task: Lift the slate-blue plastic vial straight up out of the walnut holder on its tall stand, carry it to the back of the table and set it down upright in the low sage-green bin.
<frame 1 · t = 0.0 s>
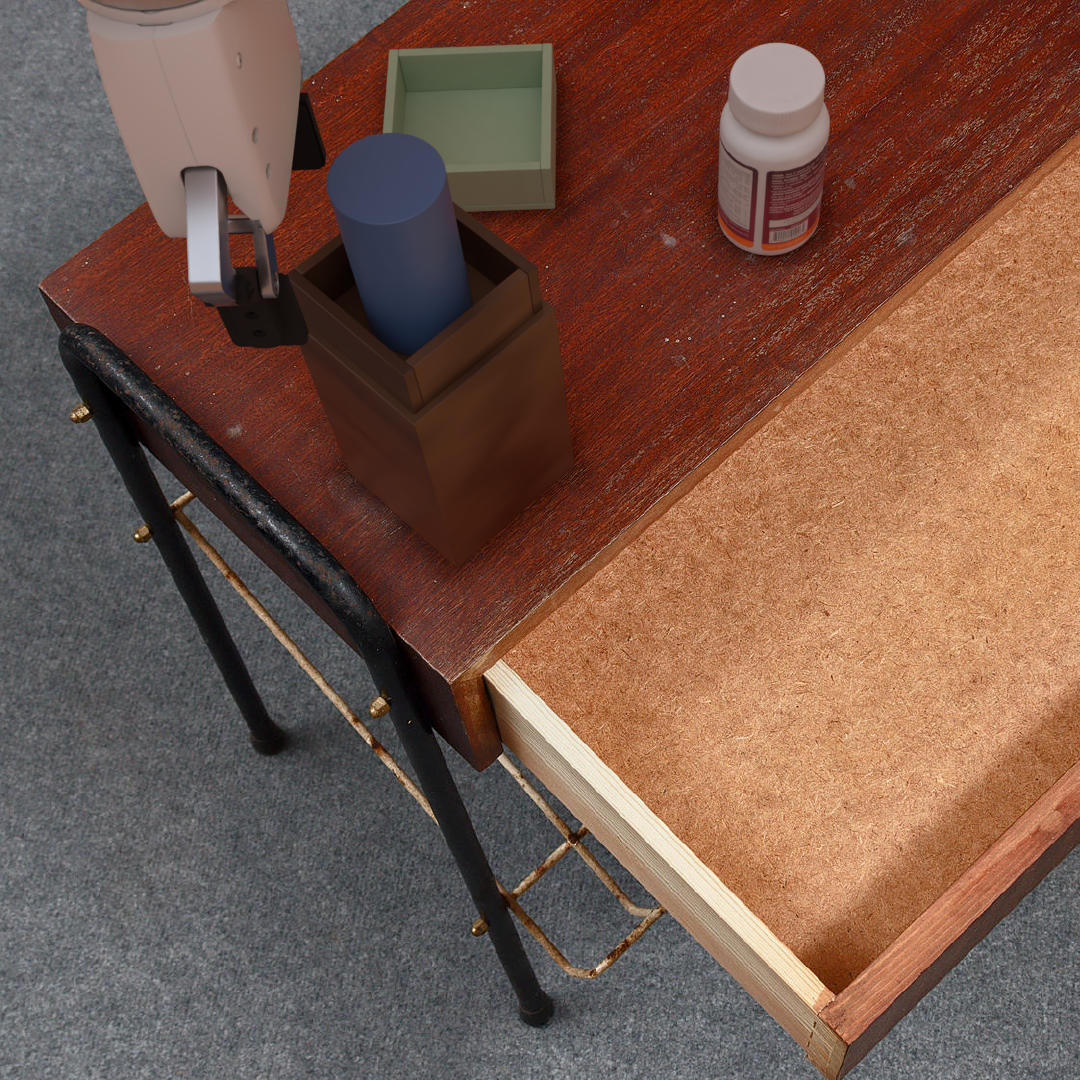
hand: (282, 249, 64), 19 cm above the table, tool pointing down, fingers open, 9 cm apart
vial: (404, 248, 65), in the stand, point 18 cm above the table
bin: (475, 148, 91), on the table
stand: (420, 312, 69), on the table
pill bottle: (767, 221, 88), on the table
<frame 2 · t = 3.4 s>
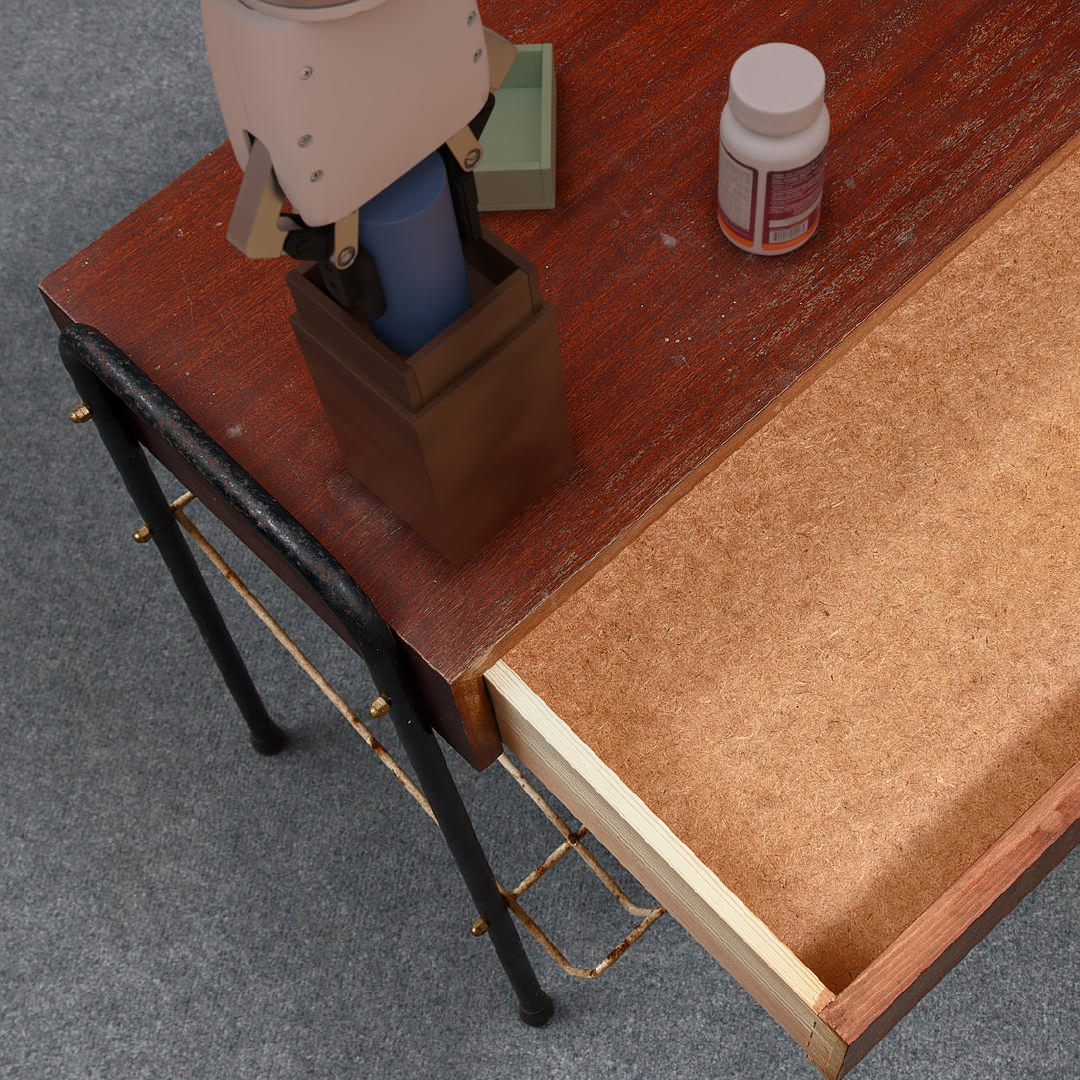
hand: (407, 258, 65), 18 cm above the table, tool pointing down, fingers closed on vial, 5 cm apart
vial: (404, 248, 65), in the stand, point 18 cm above the table, touching gripper
everything else where it was.
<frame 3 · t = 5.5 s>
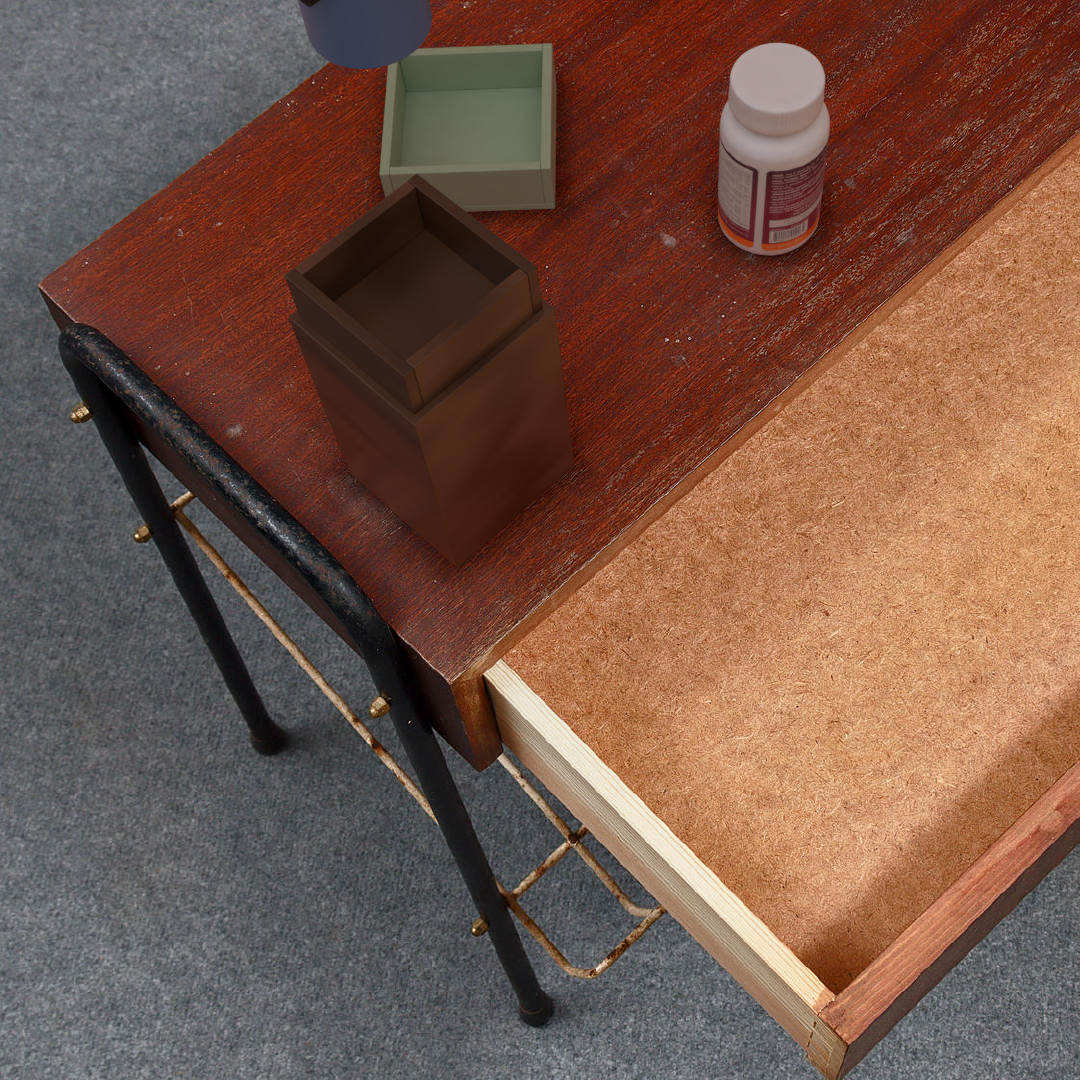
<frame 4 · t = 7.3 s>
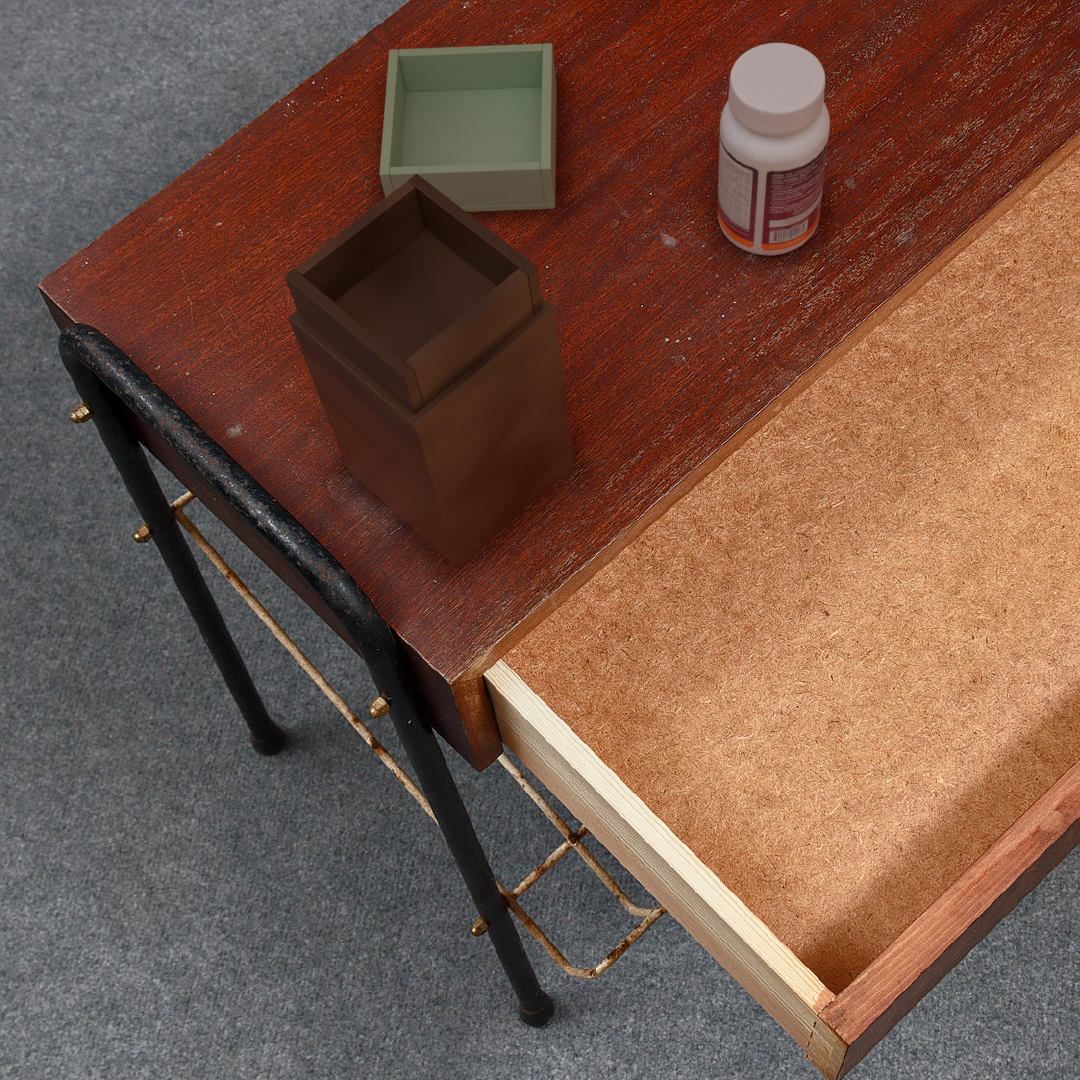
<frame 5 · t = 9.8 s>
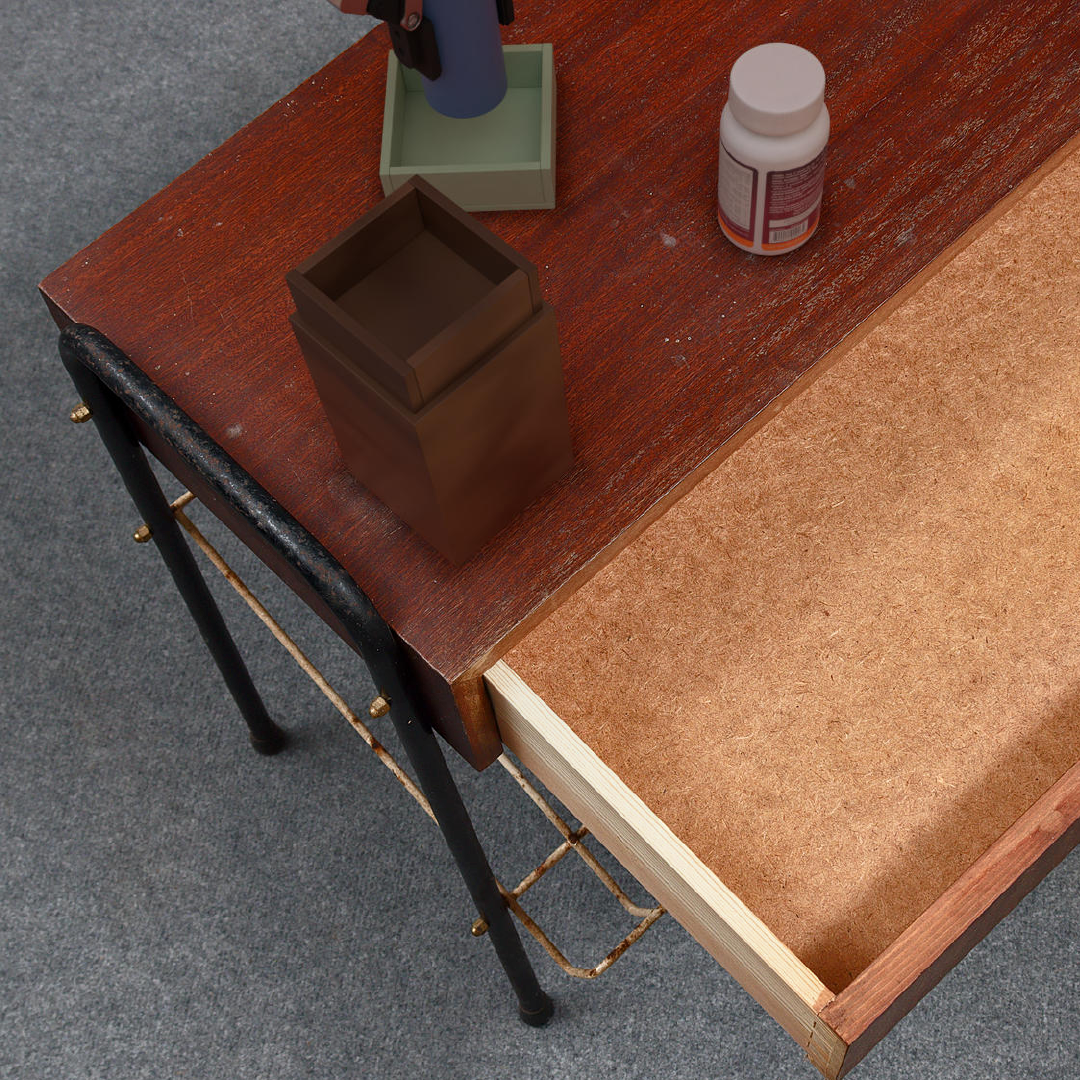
hand: (456, 37, 84), 9 cm above the table, tool pointing down, fingers closed on vial, 5 cm apart
vial: (455, 27, 83), point 10 cm above the table, touching gripper
everything else where it was.
when the fingers open (4 cm above the table, at t = 11.6 s): vial stays where it is, resting on bin.
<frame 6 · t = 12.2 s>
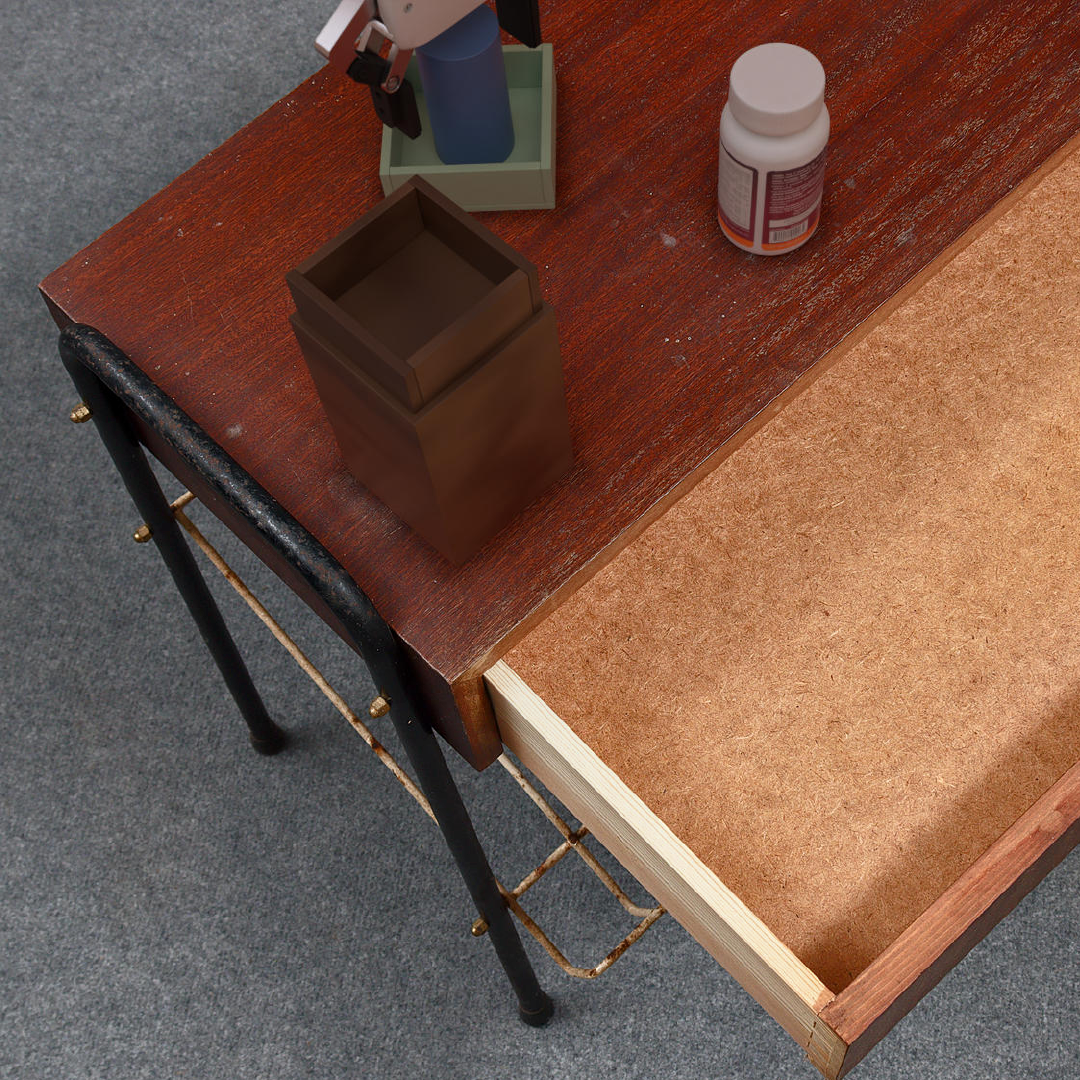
hand: (461, 80, 86), 6 cm above the table, tool pointing down, fingers open, 9 cm apart
vial: (465, 88, 87), in the bin
everything else where it was.
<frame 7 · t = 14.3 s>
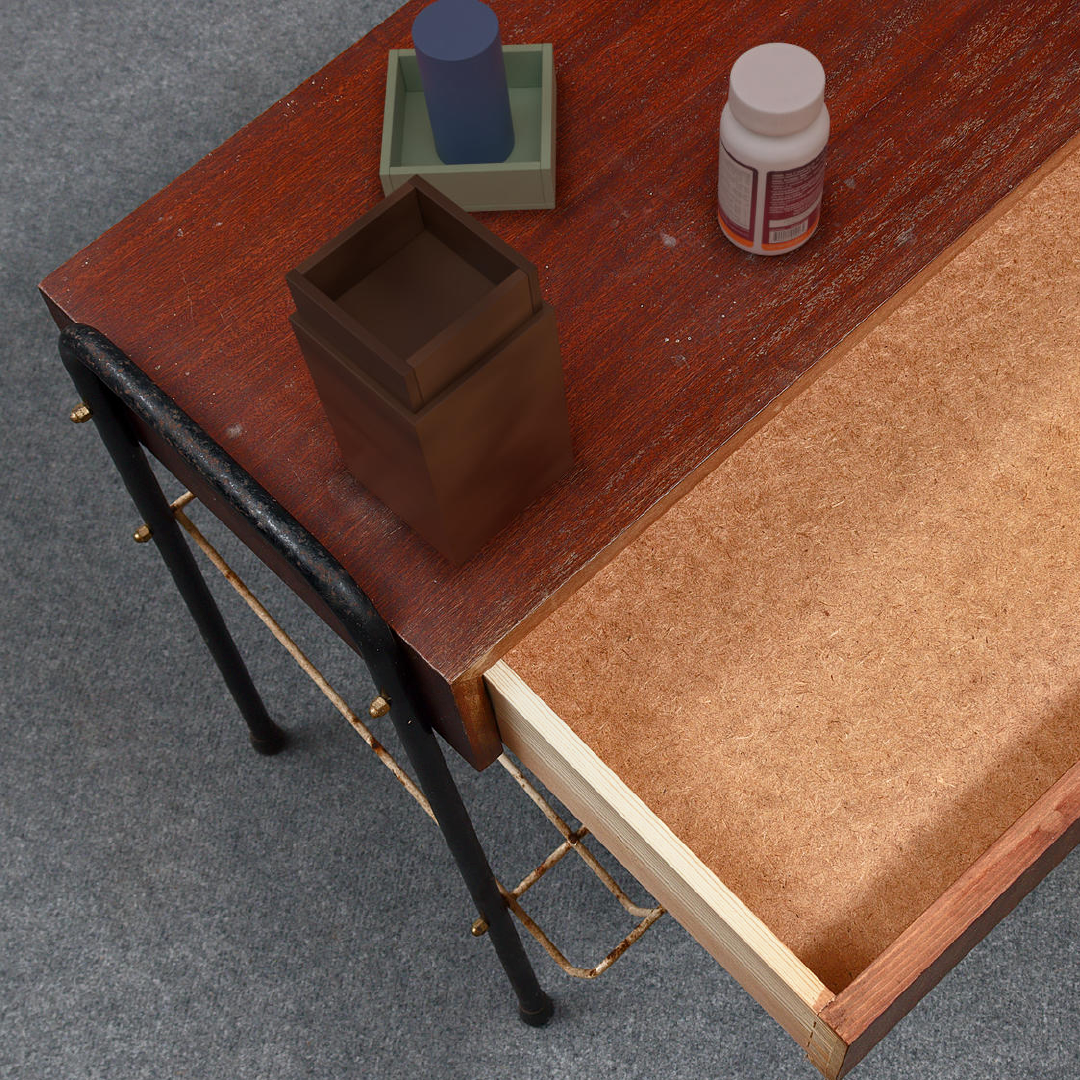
nothing on the table moved.
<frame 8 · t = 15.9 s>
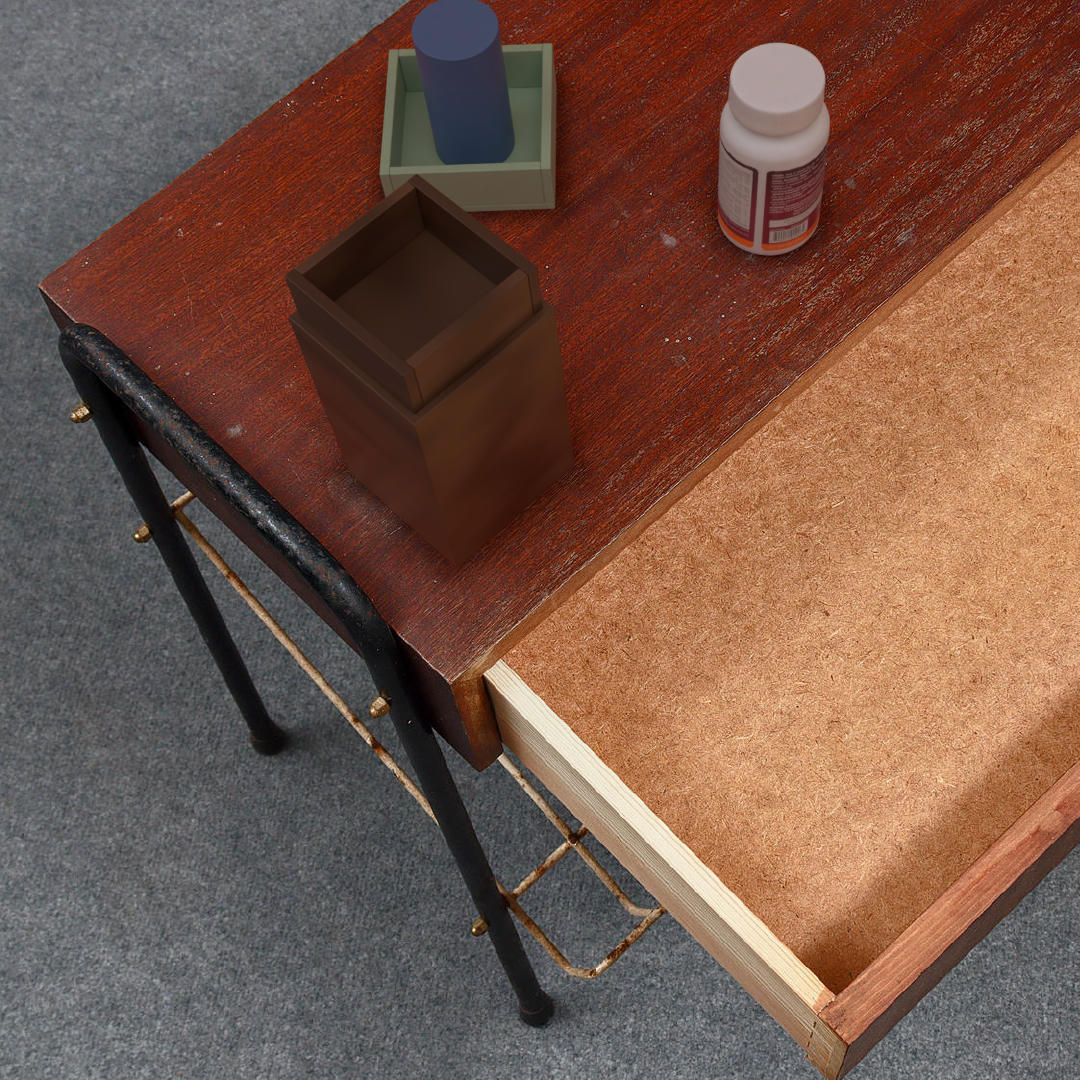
nothing on the table moved.
at the end: vial 0.1 cm off-centre in the bin, point 5.0 cm above the bin's base; vial tilted 0°; vial touching bin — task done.
